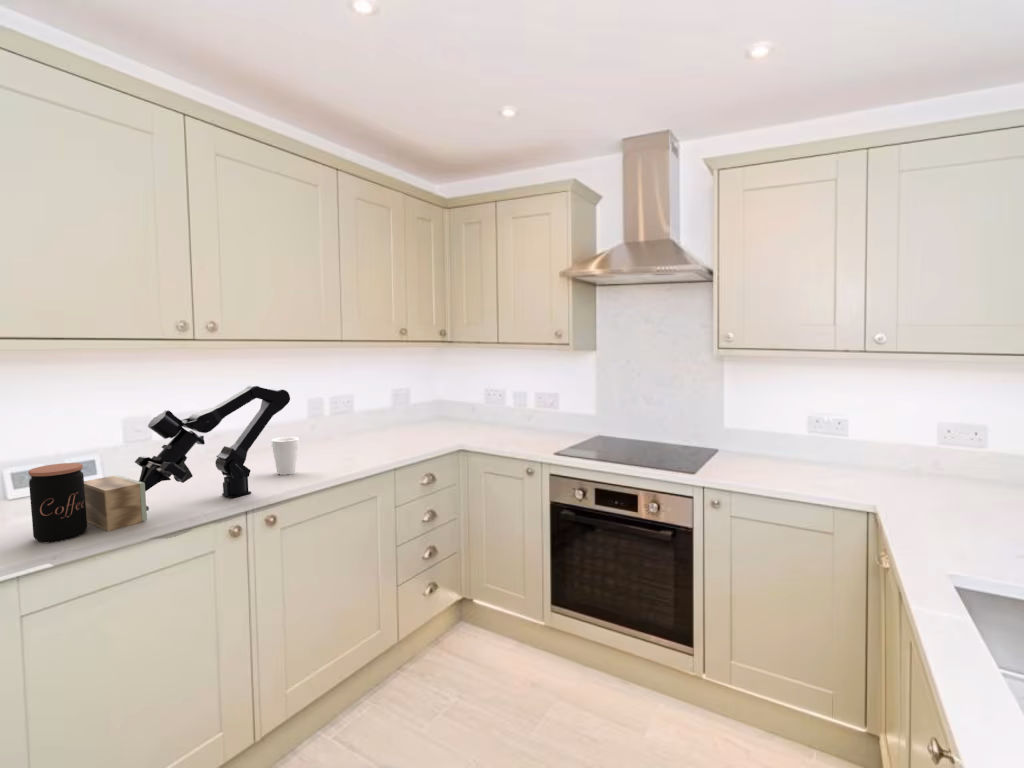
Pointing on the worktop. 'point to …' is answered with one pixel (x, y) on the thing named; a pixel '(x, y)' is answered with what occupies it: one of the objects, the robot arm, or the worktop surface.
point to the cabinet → (112, 502)
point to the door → (142, 497)
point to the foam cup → (285, 454)
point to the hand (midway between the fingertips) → (138, 493)
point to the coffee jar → (57, 502)
